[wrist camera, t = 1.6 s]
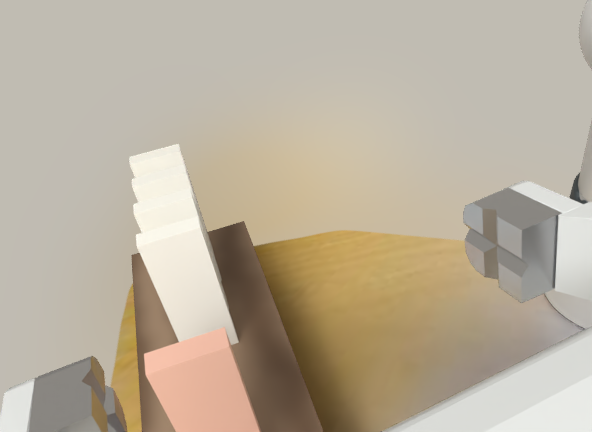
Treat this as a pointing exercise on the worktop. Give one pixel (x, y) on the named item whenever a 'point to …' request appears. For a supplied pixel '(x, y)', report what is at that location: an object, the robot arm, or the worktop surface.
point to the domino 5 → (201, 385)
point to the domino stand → (248, 352)
